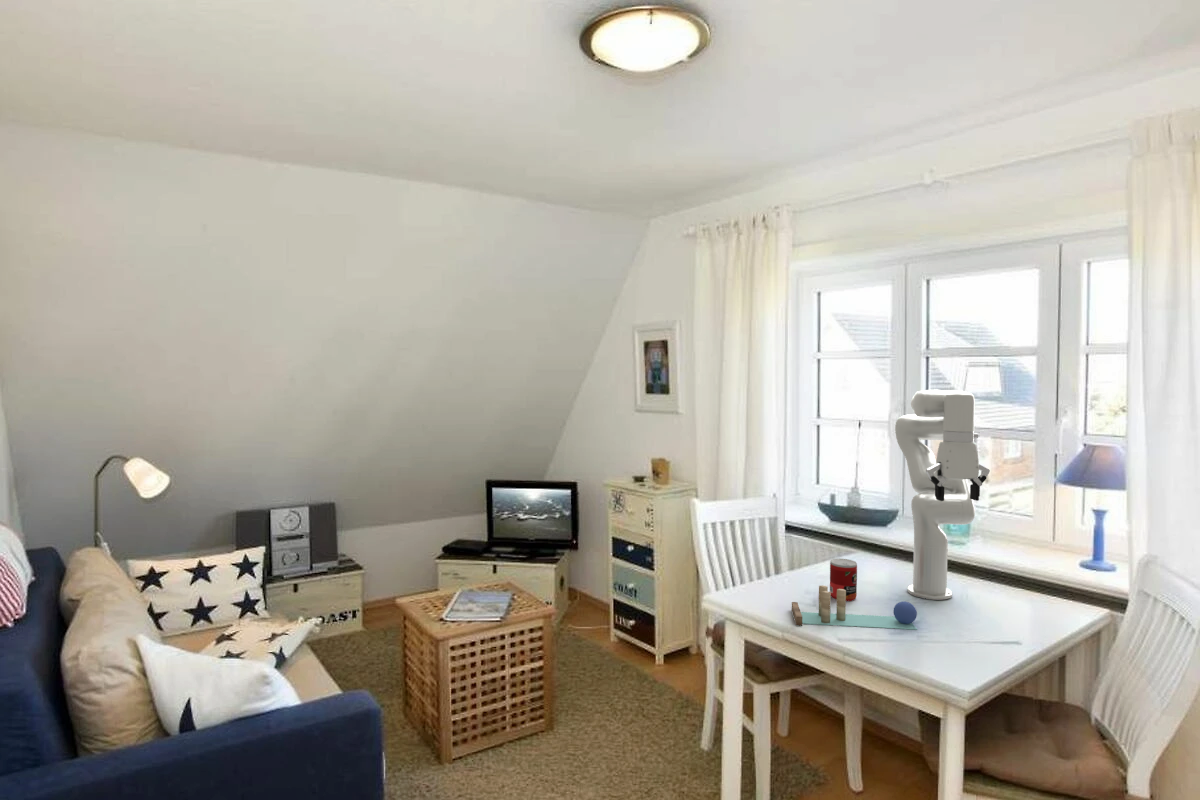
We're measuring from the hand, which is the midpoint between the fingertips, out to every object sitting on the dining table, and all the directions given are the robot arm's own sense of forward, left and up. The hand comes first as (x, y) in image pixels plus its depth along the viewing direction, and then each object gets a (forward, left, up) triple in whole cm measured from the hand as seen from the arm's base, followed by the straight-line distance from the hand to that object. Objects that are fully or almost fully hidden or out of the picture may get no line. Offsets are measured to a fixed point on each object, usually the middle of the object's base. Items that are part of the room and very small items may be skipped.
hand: (957, 499), depth 197 cm
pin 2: (+5, -35, -34) cm, 49 cm away
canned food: (-18, -26, -35) cm, 47 cm away
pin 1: (0, -35, -34) cm, 49 cm away
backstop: (+2, -42, -34) cm, 55 cm away
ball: (+2, -13, -31) cm, 34 cm away
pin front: (+2, -30, -34) cm, 46 cm away
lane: (+2, -26, -34) cm, 43 cm away
